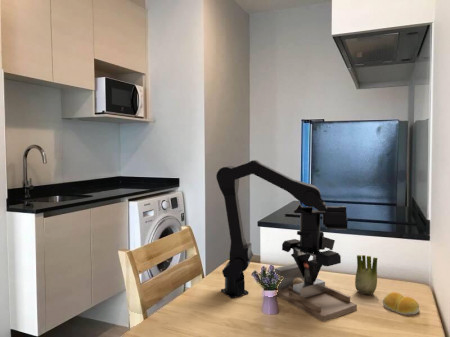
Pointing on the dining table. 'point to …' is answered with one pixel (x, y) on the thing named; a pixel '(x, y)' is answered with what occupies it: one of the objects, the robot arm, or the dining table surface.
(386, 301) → the bread roll
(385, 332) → the dining table surface
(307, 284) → the sliding jaw
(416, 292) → the dining table surface
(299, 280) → the walnut
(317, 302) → the base
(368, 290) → the fennel bulb
